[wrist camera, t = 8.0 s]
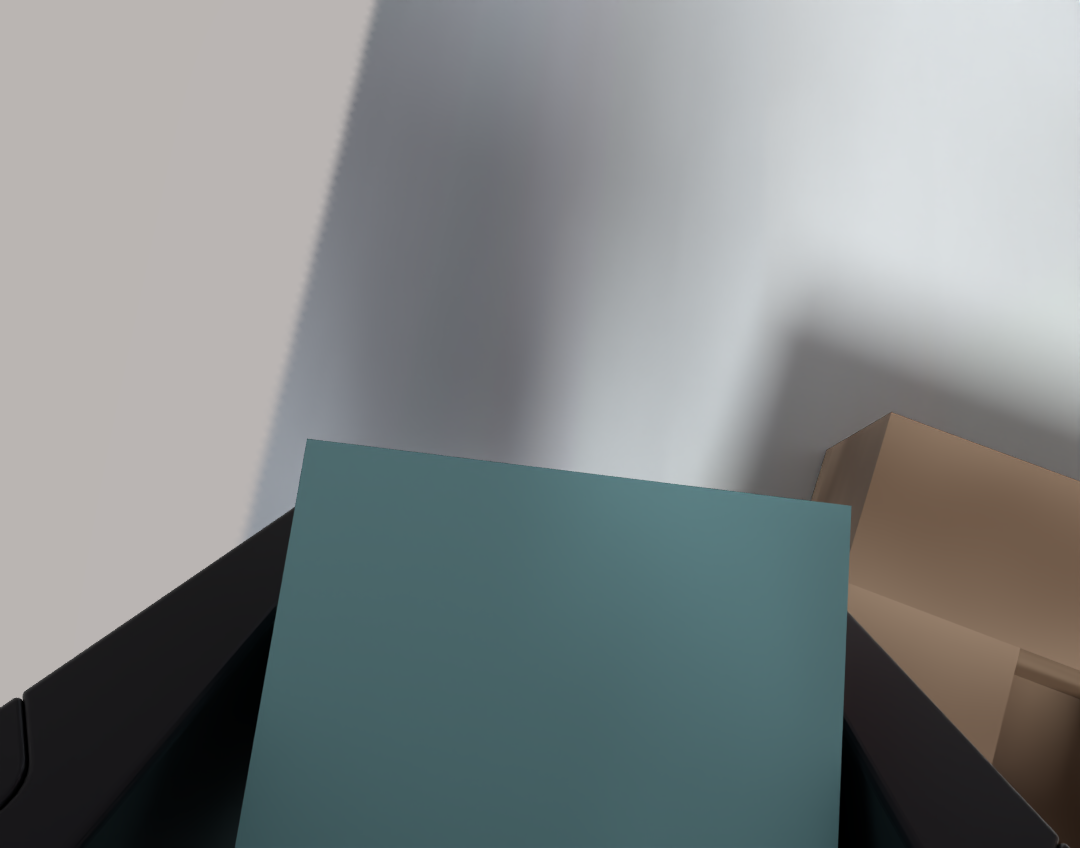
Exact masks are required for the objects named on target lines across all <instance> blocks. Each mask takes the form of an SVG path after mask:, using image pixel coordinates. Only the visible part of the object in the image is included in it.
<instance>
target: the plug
mask: <svg viewBox="0 0 1080 848" xmlns="http://www.w3.org/2000/svg"><path fill="white" fill-rule="evenodd" d="M850 529H851V506H848V505H840V504H832V503H824V502H816V501H808V500H800V499H792V498H783V497H775V496H767V495H759V494H751V493H743V492H735V491H727V490H719V489H710V488H702V487H694V486H686V485H678V484H670V483H662V482H654V481H646V480H637V479H629V478H621V477H613V476H605V475H597V474H589V473H581V472H573V471H564V470H556V469H548V468H540V467H532V466H524V465H516V464H508V463H500V462H491V461H483V460H475V459H467V458H459V457H451V456H443V455H435V454H427V453H418V452H410V451H402V450H394V449H386V448H378V447H370V446H362V445H354V444H345V443H337V442H329V441H321V440H313V439H307V442H306V448H305V453H304V459H303V465H302V470H301V476H300V482H299V487H298V493H297V499H296V504H295V510H294V516H293V521H292V527H291V533H290V538H289V544H288V550H287V555H286V561H285V567H284V572H283V578H282V584H281V589H280V595H279V601H278V606H277V612H276V618H275V623H274V629H273V635H272V640H271V646H270V652H269V657H268V663H267V669H266V674H265V680H264V686H263V691H262V697H261V703H260V708H259V714H258V720H257V725H256V731H255V737H254V742H253V748H252V754H251V759H250V765H249V771H248V776H247V782H246V788H245V793H244V799H243V805H242V810H241V816H240V822H239V827H238V833H237V838H236V844H235V848H838V831H839V806H840V781H841V756H842V730H843V705H844V680H845V655H846V630H847V604H848V579H849V554H850Z"/></svg>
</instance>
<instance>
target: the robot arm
mask: <svg viewBox="0 0 1080 848" xmlns="http://www.w3.org/2000/svg"><path fill="white" fill-rule="evenodd" d="M294 510H295V507H294V508H293V509H291V510H290V511H288V512H287V513H285V514H284V515H283V516H281V517H280V518H278V519H277V520H275V521H274V522H272V523H271V524H269V525H268V526H266V527H265V528H263V529H262V530H261V531H259V532H258V533H256V534H255V535H253V536H252V537H250V538H249V539H247V540H246V541H244V542H243V543H241V544H240V545H239V546H237V547H236V548H234V549H233V550H231V551H230V552H228V553H227V554H225V555H224V556H222V557H221V558H219V559H218V560H217V561H215V562H214V563H212V564H211V565H209V566H208V567H206V568H205V569H203V570H202V571H200V572H199V573H197V574H196V575H195V576H193V577H192V578H190V579H189V580H187V581H186V582H184V583H183V584H181V585H180V586H179V587H177V588H175V589H174V590H173V591H171V592H170V593H168V594H167V595H165V596H164V597H162V598H161V599H160V600H158V601H157V602H155V603H154V604H152V605H151V606H149V607H148V608H146V609H145V610H143V611H142V612H140V613H139V614H138V615H136V616H134V617H133V618H132V619H130V620H129V621H127V622H126V623H124V624H123V625H121V626H120V627H118V628H117V629H115V630H114V631H112V632H111V633H110V634H108V635H107V636H105V637H104V638H102V639H101V640H99V641H98V642H96V643H95V644H93V645H92V646H90V647H89V648H88V649H86V650H85V651H83V652H82V653H80V654H79V655H77V656H76V657H74V658H73V659H72V660H70V661H69V662H67V663H66V664H64V665H63V666H61V667H60V668H58V669H57V670H55V671H54V672H52V673H51V674H49V675H48V676H47V677H45V678H44V679H42V680H41V681H39V682H38V683H36V684H35V685H33V686H32V687H30V688H29V689H27V690H26V691H25V692H24V693H23V701H22V699H20V698H14V699H13V700H11V701H9V702H8V703H6V704H5V705H3V706H2V707H0V848H235V844H236V838H237V833H238V827H239V822H240V816H241V810H242V805H243V799H244V793H245V788H246V782H247V776H248V771H249V765H250V759H251V754H252V748H253V742H254V737H255V731H256V725H257V720H258V714H259V708H260V703H261V697H262V691H263V686H264V680H265V674H266V669H267V663H268V657H269V652H270V646H271V640H272V635H273V629H274V623H275V618H276V612H277V606H278V601H279V595H280V589H281V584H282V578H283V572H284V567H285V561H286V555H287V550H288V544H289V538H290V533H291V527H292V521H293V516H294ZM1058 842H1059V837H1058V835H1057V834H1056V832H1055V831H1054V830H1053V829H1052V828H1051V827H1050V826H1049V825H1048V824H1047V823H1046V822H1045V821H1044V820H1043V819H1042V818H1041V816H1040V815H1039V814H1038V813H1037V812H1036V811H1035V810H1034V809H1033V808H1032V807H1031V806H1030V805H1029V804H1028V803H1027V802H1026V801H1025V799H1024V798H1023V797H1022V796H1021V795H1020V794H1019V793H1018V792H1017V791H1016V790H1015V789H1014V788H1013V787H1012V786H1011V785H1010V783H1009V782H1008V781H1007V780H1006V779H1005V778H1004V777H1003V776H1002V775H1001V774H1000V773H999V772H998V771H997V770H996V769H995V768H994V766H993V765H992V764H991V763H990V762H989V761H988V760H987V759H986V758H985V757H984V756H983V755H982V754H981V753H980V752H979V750H978V749H977V748H976V747H975V746H974V745H973V744H972V743H971V742H970V741H969V740H968V739H967V738H966V737H965V736H964V735H963V733H962V732H961V731H960V730H959V729H958V728H957V727H956V726H955V725H954V724H953V723H952V722H951V721H950V720H949V719H948V717H947V716H946V715H945V714H944V713H943V712H942V711H941V710H940V709H939V708H938V707H937V706H936V705H935V704H934V703H933V702H932V700H931V699H930V698H929V697H928V696H927V695H926V694H925V693H924V692H923V691H922V690H921V689H920V688H919V687H918V686H917V684H916V683H915V682H914V681H913V680H912V679H911V678H910V677H909V676H908V675H907V674H906V673H905V672H904V671H903V670H902V669H901V667H900V666H899V665H898V664H897V663H896V662H895V661H894V660H893V659H892V658H891V657H890V656H889V655H888V654H887V653H886V651H885V650H884V649H883V648H882V647H881V646H880V645H879V644H878V643H877V642H876V641H875V640H874V639H873V638H872V637H871V636H870V634H869V633H868V632H867V631H866V630H865V629H864V628H863V627H862V626H861V625H860V624H859V623H858V622H857V621H856V620H855V618H854V617H853V616H852V615H851V614H850V613H849V612H848V611H847V630H846V655H845V680H844V705H843V730H842V756H841V781H840V806H839V831H838V848H1070V847H1069V846H1068V845H1067V844H1065V843H1060V844H1058Z"/></svg>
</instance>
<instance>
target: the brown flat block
mask: <svg viewBox="0 0 1080 848" xmlns="http://www.w3.org/2000/svg"><path fill="white" fill-rule="evenodd" d="M811 501H816V502H824V503H832V504H840V505H848V506H851V529H850V554H849V579H848V604H847V611H848V612H849V613H850V614H851V615H852V616H853V617H854V618H855V620H856V621H857V622H858V623H859V624H860V625H861V626H862V627H863V628H864V629H865V630H866V631H867V632H868V633H869V634H870V636H871V637H872V638H873V639H874V640H875V641H876V642H877V643H878V644H879V645H880V646H881V647H882V648H883V649H884V650H885V651H886V653H887V654H888V655H889V656H890V657H891V658H892V659H893V660H894V661H895V662H896V663H897V664H898V665H899V666H900V667H901V669H902V670H903V671H904V672H905V673H906V674H907V675H908V676H909V677H910V678H911V679H912V680H913V681H914V682H915V683H916V684H917V686H918V687H919V688H920V689H921V690H922V691H923V692H924V693H925V694H926V695H927V696H928V697H929V698H930V699H931V700H932V702H933V703H934V704H935V705H936V706H937V707H938V708H939V709H940V710H941V711H942V712H943V713H944V714H945V715H946V716H947V717H948V719H949V720H950V721H951V722H952V723H953V724H954V725H955V726H956V727H957V728H958V729H959V730H960V731H961V732H962V733H963V735H964V736H965V737H966V738H967V739H968V740H969V741H970V742H971V743H972V744H973V745H974V746H975V747H976V748H977V749H978V750H979V752H980V753H981V754H982V755H983V756H984V757H985V758H986V759H987V760H988V761H989V762H990V763H991V764H992V765H993V766H994V768H995V769H996V770H997V771H998V772H999V773H1000V774H1001V775H1002V776H1003V777H1004V778H1005V779H1006V780H1007V781H1008V782H1009V783H1010V785H1011V786H1012V787H1013V788H1014V789H1015V790H1016V791H1017V792H1018V793H1019V794H1020V795H1021V796H1022V797H1023V798H1024V799H1025V801H1026V802H1027V803H1028V804H1029V805H1030V806H1031V807H1032V808H1033V809H1034V810H1035V811H1036V812H1037V813H1038V814H1039V815H1040V816H1041V818H1042V819H1043V820H1044V821H1045V822H1046V823H1047V824H1048V825H1049V826H1050V827H1051V828H1052V829H1053V830H1054V831H1055V832H1056V834H1057V835H1058V837H1059V842H1058V844H1060V843H1065V844H1067V845H1068V846H1069V847H1070V848H1080V481H1078V480H1075V479H1072V478H1069V477H1067V476H1064V475H1061V474H1059V473H1056V472H1053V471H1050V470H1048V469H1045V468H1042V467H1039V466H1037V465H1034V464H1031V463H1029V462H1026V461H1023V460H1020V459H1018V458H1015V457H1012V456H1010V455H1007V454H1004V453H1001V452H999V451H996V450H993V449H990V448H988V447H985V446H982V445H980V444H977V443H974V442H971V441H969V440H966V439H963V438H961V437H958V436H955V435H952V434H950V433H947V432H944V431H941V430H939V429H936V428H933V427H931V426H928V425H925V424H922V423H920V422H917V421H914V420H912V419H909V418H906V417H903V416H901V415H898V414H895V413H892V412H891V413H889V414H887V415H886V416H884V417H882V418H881V419H879V420H877V421H875V422H874V423H872V424H870V425H869V426H867V427H865V428H864V429H862V430H860V431H858V432H857V433H855V434H853V435H852V436H850V437H848V438H846V439H845V440H843V441H841V442H840V443H838V444H836V445H834V446H833V447H831V448H829V449H828V450H826V454H825V457H824V460H823V463H822V467H821V470H820V473H819V476H818V479H817V483H816V486H815V489H814V492H813V496H812V499H811Z"/></svg>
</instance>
